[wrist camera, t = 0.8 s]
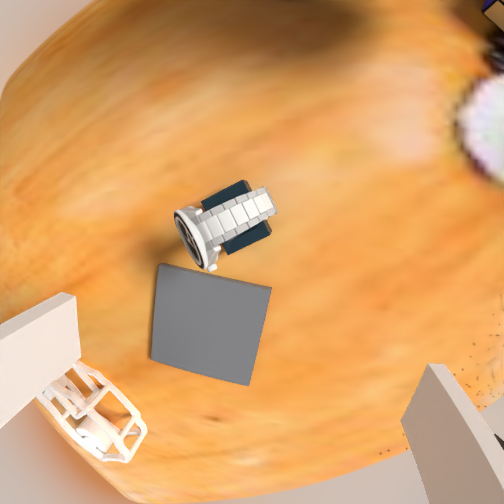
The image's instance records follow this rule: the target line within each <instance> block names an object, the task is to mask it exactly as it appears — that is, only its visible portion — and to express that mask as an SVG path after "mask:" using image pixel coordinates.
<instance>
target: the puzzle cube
mask: <svg viewBox="0 0 504 504" xmlns="http://www.w3.org/2000/svg"><path fill="white" fill-rule="evenodd" d="M482 12H483V14H485V15H486V16H487V17H488V18H489V19H490V20H491V21H493V22H494V23H495V24H496V25H497V26H498V27H499V28H500V29H501V30H502V31H503V32H504V0H486V2H485V4H484V7H483V10H482Z"/></svg>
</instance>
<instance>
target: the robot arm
mask: <svg viewBox="0 0 504 504" xmlns="http://www.w3.org/2000/svg"><path fill="white" fill-rule="evenodd" d="M79 358H81V349H80V341H79V331H78V320H77V306H76V296H73V295H70V294H67V293H64V292H61V293H59V294H57V295H55V296H53V297H51V298H49V299H47V300H45V301H43V302H41V303H39V304H37V305H35V306H34V307H32V308H30V309H28V310H26V311H24V312H22V313H20V314H19V315H17V316H15V317H13V318H11V319H9V320H7V321H6V322H4V323H2V324H0V428H1V427H3V426H4V425H5V424H6V423H7V422H8V421H9V420H10V419H11V418H12V417H14V416H15V415H16V414H17V413H18V412H19V411H20V410H21V409H22V408H24V406H26V405H27V404H28V403H29V402H30V401H31V400H33V399H34V398H35V397H36V396H37V395H38V394H39V393H40V392H42V391H43V390H44V389H45V388H46V387H47V386H48V385H49V384H51V383H52V382H53V381H54V380H55V379H56V378H57V377H59V376H60V375H61V374H62V373H63V372H64V371H66V370H67V369H68V368H69V367H70V366H71V365H72V364H74V363H75V362H76V361H77V360H78V359H79ZM401 423H402V426H403V428H404V431H405V433H406V436H407V439H408V441H409V444H410V447H411V450H412V452H413V455H414V458H415V461H416V464H417V466H418V469H419V472H420V475H421V478H422V481H423V484H424V487H425V490H426V493H427V496H428V500H429V503H430V504H504V441H503V440H502V439H500V438H499V437H498V436H497V435H496V434H493V433H492V431H491V430H490V428H489V427H488V425H487V424H486V422H485V421H484V419H483V418H482V416H481V415H480V413H479V412H478V410H477V409H476V407H475V406H474V404H473V403H472V402H471V400H470V399H469V397H468V396H467V394H466V393H465V392H464V390H463V389H462V387H461V386H460V385H459V383H458V382H457V381H456V379H455V378H454V376H453V375H452V374H451V372H450V371H449V370H448V368H447V367H446V366H445V364H433V363H428V364H427V367H426V369H425V371H424V373H423V376H422V378H421V380H420V382H419V385H418V387H417V389H416V391H415V393H414V395H413V397H412V399H411V401H410V403H409V405H408V407H407V409H406V411H405V413H404V415H403V417H402V419H401Z"/></svg>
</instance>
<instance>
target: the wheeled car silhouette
mask: <svg viewBox="0 0 504 504" xmlns="http://www.w3.org/2000/svg"><path fill="white" fill-rule="evenodd" d="M71 368H73V369H74V370H75V371H76V373H77V374H78V375H79V376H80V377H81V379H82V380H83V381H84V382H85V383H86V384H87V385H88V387H89V388H90V389H91V390H92V391H93V393H92V394H91V395H90V396H89V397H88V398H87V399H85V397H84V396H83V395H82V393H81V392H80V390H79V389H78V388H77V387H76V386H75V384H74V383H73V382H72V381H71V380H70V379H68V378H67V377H66V375H65V373H66V372H67V371H69V370H70V369H71ZM87 374H88V375H91V376H94V377H95V378H96V379H97V380H98V381H99V382H100V383H101V384H102V385H103V386H104V387H103V388H101V389H99V388H98V387H97V386H96V385H95V383H94V382H93V381H92V380H91V379H90V378H89V376H88V375H87ZM66 385H67V386H68V387H69V388H70V389H71V391H70V390H68V389H66V388H65V387H66ZM108 391H111V392H112V393H113V394H114V395H115V396H116V397H117V398H118V400H119V401H120V402H121V403H122V404H123V405H124V406H125V407H126V408H127V409H128V410H129V411H130V413H131V415H132V416H131V418H130V419H129V421H128V422H127V424H126V425H125V426H124V428H123V429H122V430H120V429H118V428H117V427H116V426H114V425H113V424H112V423H111V422H109V421H108V420H107V419H106V418H104V417H103V416H101V415H100V414H99V413H98V412H97V411H96V410H95V409H94V407H95V405H96V404H97V403H98V402H99V401H100V400H101V399H102V398H103V396H104V395H105V394H106V393H107V392H108ZM54 397H56V399H57V400H58V401H59V402H60V403H61V404H62V405H63V407H64V408H65V409H66V411H65V412H64V413H63V414H62V415H61V414H60V413H59V411H58V410H57V409H56V408H55V406H54V405H53V404H52V403H51V402H50V401H51V400H52V399H53V398H54ZM36 398H37V400H38V401H39V402H41V403H42V404H43V405H44V406H45V407H46V408H47V409H48V411H49V412H50V413H51V414H52V415H53V417H54V418H55V419H56V420H57V422H58V423H59V424H60V425H61V427H62V428H63V429H64V430H65V431H66V432H67V433H68V434H69V435H70V436H71V437H72V438H73V439H74V440H75V441H76V442H77V443H78V444H79V445H80V446H82V447H83V448H84V449H85V450H87V451H88V452H90V453H91V454H92V455H93V456H95V457H96V458H98V459H99V460H101V461H103V462H106V461H120V462H123V463H128V462H129V461H130V460H131V459H132V457H133V455H134V454H135V452H136V450H137V448H138V447H139V445H140V443H141V442H142V440H143V438H144V437H145V435H146V433H147V427H146V424H145V423H144V422H143V421H142V419H141V418H140V417H141V415H140V413H139V411H138V410H137V409H136V408H135V407H134V406H133V404H132V403H131V402H130V401H129V400H128V399H127V398H126V397H125V396H124V395H123V394H122V393H121V392H120V390H119V389H118V388H117V387H116V386H114V385H113V384H112V383H111V381H109V380H107V379H106V378H105V377H104V376H103V375H102V374H101V373H100V372H99V371H98V370H95V369H92V368H90V367H88V366H87V365H85V364H84V363H82V362H81V361H79V360H77V361H76V362H75V363H74V364H72V365H71V366H70V367H69V368H68V369H67V370H66V371H64V372H63V373H62V374H61V375H60V376H59V377H57V378H56V379H55V380H54V381H53V382H52V383H51V384H49V385H48V386H47V387H46V388H45V389H44V390H43V391H42V392H40V393H39V394H38V395H37V396H36ZM67 398H68V399H71V400H72V402H74V403H73V404H71V403H70V402H69V400H68V399H67ZM77 407H78V409H76V408H77ZM70 414H71V415H72V416H73V417H74V418H75V419H76V420H77V419H80V418H81V417H83V416H84V415H86V414H87V415H88V416H87V417H86V418H85V419H84V420H83V421H82V422H81V424H80V425H79V426H78V427H77V428H76V429H75V430H74V429H73V428H72V427H71V426H70V425H69V424H68V423H67V421H66V420H65V419H66V418H67V417H68V416H69V415H70ZM134 422H135V423H136V424H137V425H138V426H139V427H140V429H139V428H131V427H132V425H133V424H134ZM126 435H139V436H138V437H137V439H136V441H135V442H134V444H133V445H132V447H131V449H130V450H128V449H127V448H126V447H125V445H124V444H123V443H124V441H123V439H124V437H125V436H126ZM113 443H114V444H115V446H116V447H117V449H118V450H119V452H120V453H121V454H118V453H109V454H106V453H107V451H108V450H109V448H110V447H111V445H112V444H113Z"/></svg>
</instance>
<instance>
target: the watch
mask: <svg viewBox="0 0 504 504" xmlns="http://www.w3.org/2000/svg"><path fill="white" fill-rule="evenodd" d="M201 203H202V205H203V207H204V209H205V211H206V212H204V213H203V211H202V209H201V208H194V207H192V206H187V207H185V208H183V209H181V210H176V211H175V212H174V219H175V223H176V226H177V229H178V231H179V234H180V236H181V239H182V241H183V243H184V245H185V247H186V248H187V250H188V252H189V254H190V255H191V257H192V258H193V260H194V261H195V263H196V264H197V265H198V266H199V267H200V268H201V269H203V270H204V269H206V268H207V270H208V272H211V271H214V270H215V269H217V268H218V267H217V265H216V263H215V262H216V261H217V260H218V254H219V252H220V251H221V247H220V245H219V244H221V243H222V245H223V246H224V248H225V250H226V252H227V254H228V255H229V254H231V253H234V252H236V251H238V250H240V249H242V248H244V247H246V246H248V245H250V244H252V243H254V242H256V241H259V240H261V239H263V238H265V237H267V236H269V235H270V234H271V232H272V230H271V228H270V226H269V224H268V222H267V220H266V219H267V217H270V216H272V215H274V214H276V213H277V212H278V211H277V209H276V206H275V204H274V202H273V200H272V198H271V196H270V194H269V192H268V190H267V189H266V187H262V188H260V189H258V190H255V191H252V190H251V188H250V186H249V184H248V182H247V181H245V180H241V181H239V182H237V183H235V184H233V185H231V186H229V187H228V188H226V189H224V190H222V191H220V192H218V193H216V194H214V195H212V196H210V197H209V198H207V199H205V200H203V201H201ZM201 213H202V214H201ZM217 245H219V246H217ZM213 263H214V264H213Z"/></svg>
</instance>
